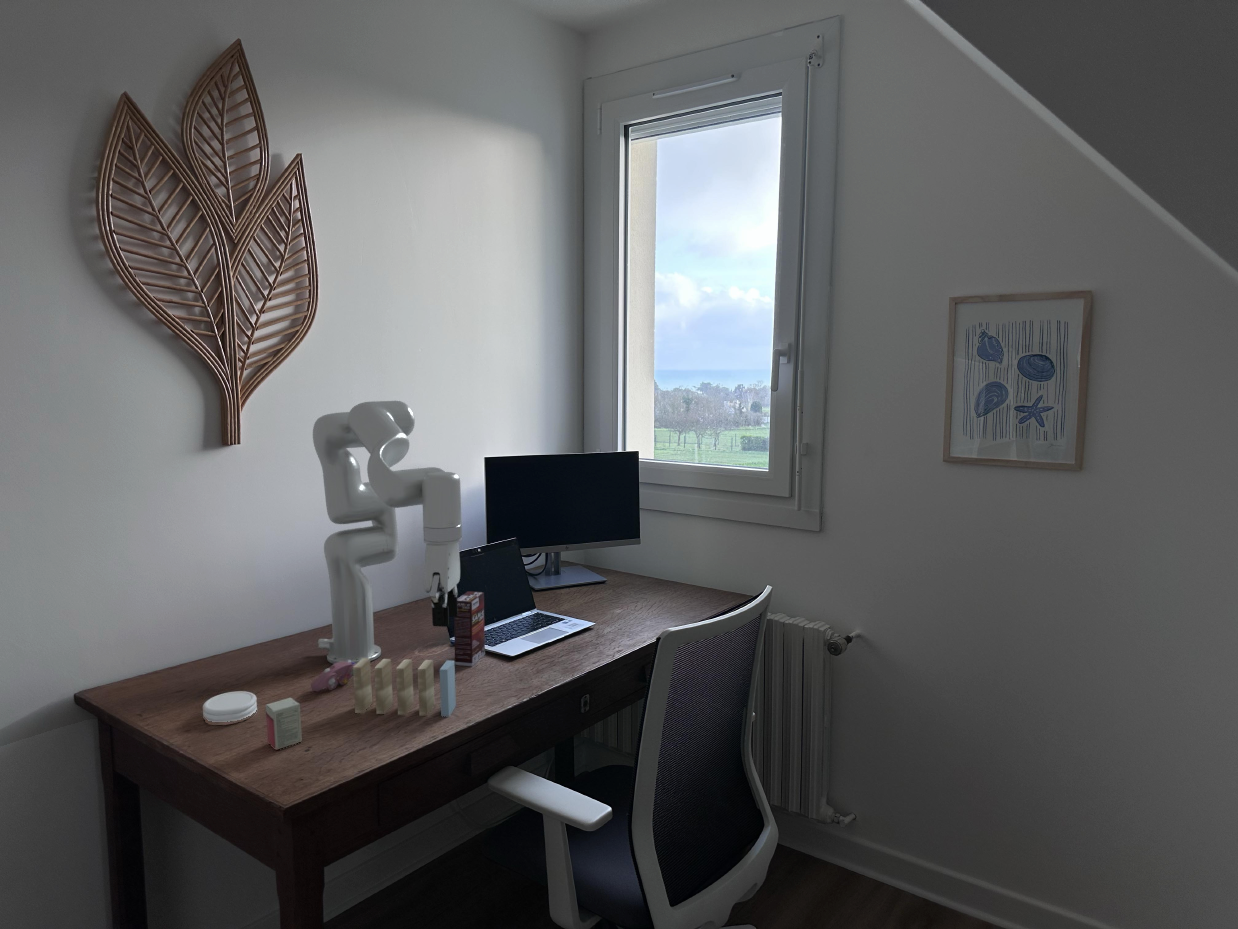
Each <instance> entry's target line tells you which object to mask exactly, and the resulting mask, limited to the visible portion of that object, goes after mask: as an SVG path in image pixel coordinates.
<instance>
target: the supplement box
mask: <svg viewBox="0 0 1238 929" xmlns="http://www.w3.org/2000/svg"><path fill="white" fill-rule="evenodd" d="M457 602H458V615H457V616H456V617H453V618H454V619H453V623H454V624H453V625H454V626H453V627H454V628H453V629H454V631H453V637H454V665H455V666H462V667H473V666H474V665H475V664H476V663H477V662H478V661H479V660H480V659H481V658H483V657H484V656H485V655H486V646H485V645H486V641H485V640H486V637H485V635H486V634H485V631H486V630H485V592H482V591H466V592H465V593H463V594H462V595H460V597H457Z"/></svg>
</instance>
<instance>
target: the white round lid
mask: <svg viewBox="0 0 1238 929" xmlns="http://www.w3.org/2000/svg"><path fill="white" fill-rule="evenodd" d="M257 701H258V700H257V695H255V693H252V692H250V691H245V690H243V691H241V690H238V691H237V690H236V691H229V692H225V693H221V694H218V695H215V696H212V697H210V698H209V699H207V700H206V701H205V702H204V703H203V705H202V715H203V718H204V717H205V718H206V719H207V720H208V721H212V722H227V721H228V722H230V721H237V720H241V719H243V718H246V717H248V716H251V715H252V714H253V713H255V712H256V710H257V711H258V706H257V705H258V702H257ZM256 713H257V712H256Z"/></svg>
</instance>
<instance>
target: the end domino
mask: <svg viewBox="0 0 1238 929" xmlns="http://www.w3.org/2000/svg"><path fill="white" fill-rule="evenodd" d="M455 666H456V665H455V660H448V659H446V661H445V662H444V663H443V665H442V666H441V667H440V668H439V686H440V687H439V689H440V691H439V692H440V713H441V714H440V716H442V718H443V716H444V717H445V716H446V717H447V718H450V716H451V715H452V713H453V711H455V710H454V709H455V708H456V707H457V705H456V704H457V703H456V702H457V700H456V674H455V673H456V671H455V670H456V669H455ZM446 717H445V718H446Z"/></svg>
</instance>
